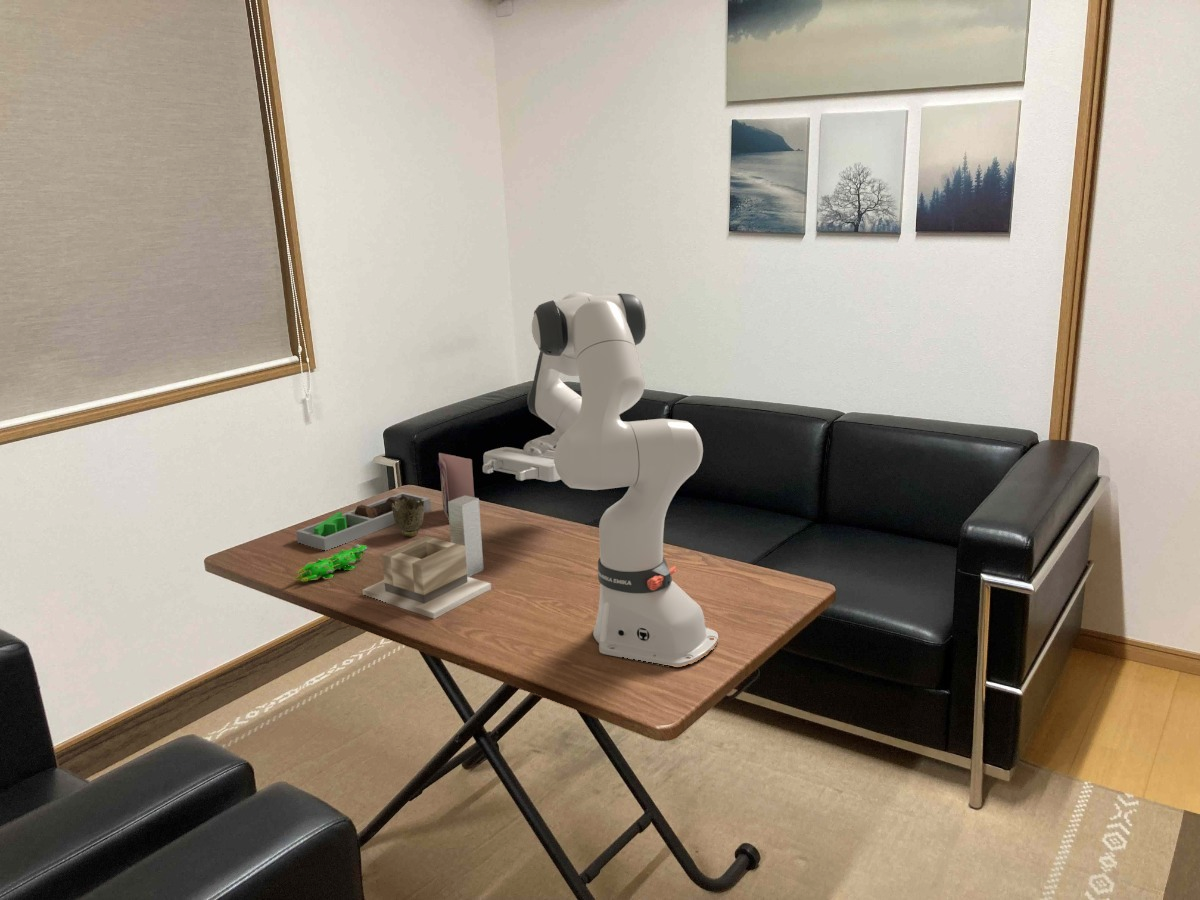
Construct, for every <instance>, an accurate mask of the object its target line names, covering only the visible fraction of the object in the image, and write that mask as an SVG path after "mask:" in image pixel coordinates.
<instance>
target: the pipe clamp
mask: <svg viewBox="0 0 1200 900" xmlns="http://www.w3.org/2000/svg"><path fill="white" fill-rule="evenodd" d="M342 514H343V512H342V511H341V512H339V511H337V512H335V513H334V514H333V515H332V516H330V517H328V518H327V519H325V520H323V521H324V522H322V521H321V522H322V523H321V524H319V525H318V526H316V527H315V528H314V534H317V535H320V536H324V537H326V536H328V535H331V534H334V533H336V532H339V531H341V530H344V529H347V528H348V526H347V524H346V517H342Z"/></svg>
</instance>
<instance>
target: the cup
mask: <svg viewBox="0 0 1200 900" xmlns="http://www.w3.org/2000/svg"><path fill="white" fill-rule="evenodd" d="M391 506H392V510H393V515H394V519H395V523H396V524H395V525H396V527H397V528H398V529H399V530H400V531H401V534H402V535H403V536H404V537H406V538H413V537H415V536H418V534H419V530H418V529H420V527H421V526H422V525H423V523H424V514H425V512H424V501H422V500H421V499H420V501H419V502H416V501H415V499H413V500H412V499H411V498H408V499H407V500H406V502H405V500H404V499H403V500H402V503H401V502H400V501H399V500H398V501H397V502H396V501H395V502H394V504H393V503H392V505H391Z"/></svg>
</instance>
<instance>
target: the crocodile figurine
mask: <svg viewBox="0 0 1200 900" xmlns="http://www.w3.org/2000/svg"><path fill="white" fill-rule="evenodd" d="M367 550H368V546H367V545H363V544H357V543H356V544H355V545H354V546H353V547H351V548H349V549H347V550H346V549H341V550H340V551H339V552H338V553H336V554H334V555H332V554H331V555H330V557H327V558H324V557H323V558H322V559H320V558H317V559H316V561H310V562H307V564H305V565H304V566H303V567H301V568H300V569H298V571H297V573H296V574H298V575H297V576H296V577H295V578H294V580H297V581H300V582H303V583H304V582H308V581H316V580H319V579H321V578H322V579H323V577H325V578H329V577H333V576H334V574H333V573H334V572H335V570H339V571H340V570H341V569H343V570H344V571H345V569H346V570H349V569H353V568H355V569H356V567H355V566H354V564H356V562H357V561H356V559H357V560H359V561H360V560H361V561H362V560H363V558H362V557H363V555H365V551H367ZM351 564H352V565H351ZM348 565H350V566H348ZM345 566H346V567H345Z"/></svg>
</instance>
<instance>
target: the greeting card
mask: <svg viewBox="0 0 1200 900" xmlns="http://www.w3.org/2000/svg"><path fill="white" fill-rule="evenodd" d="M436 462H437V464H438V467H439V473H440V486H441V499H442V500H441V501H442V509H443V513H444V514H445V516H446V519H447V518H448V519H447V520H449V510H448V502H449V501H451V500H454V499H457V498H459V497H462V496H464V495H466V496H470V497H475V491H474V490H475V489H474V476H473V475H474V474H473V459H471V458H465V457H461V456H456V455H452V454H448V453H447V454H446V453H442V452H438V460H436Z"/></svg>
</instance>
